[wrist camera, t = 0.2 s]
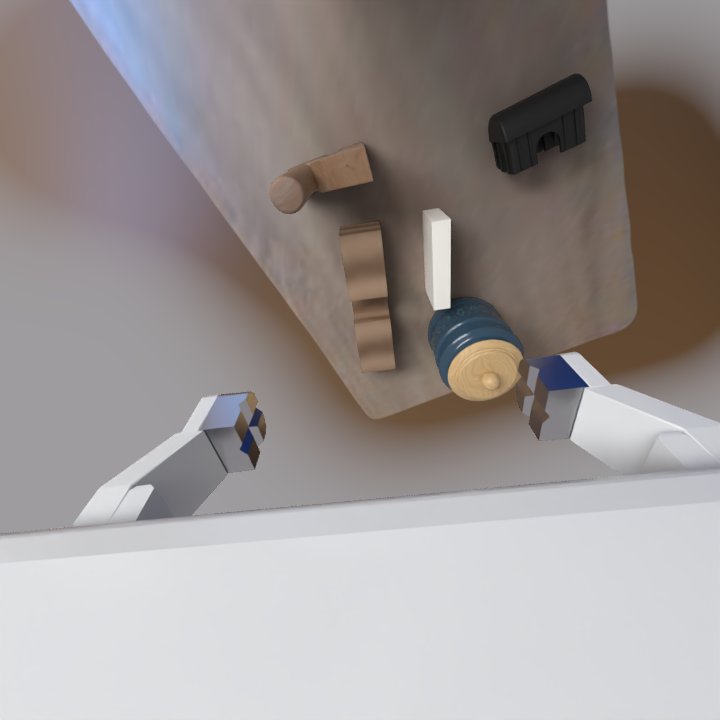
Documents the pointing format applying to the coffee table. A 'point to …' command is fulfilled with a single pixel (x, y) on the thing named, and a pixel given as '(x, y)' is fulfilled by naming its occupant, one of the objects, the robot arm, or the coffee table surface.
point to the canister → (474, 349)
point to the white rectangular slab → (437, 257)
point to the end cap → (540, 124)
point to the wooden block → (321, 177)
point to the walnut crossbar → (368, 294)
